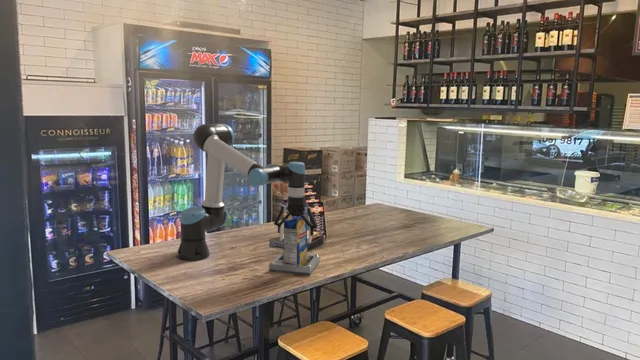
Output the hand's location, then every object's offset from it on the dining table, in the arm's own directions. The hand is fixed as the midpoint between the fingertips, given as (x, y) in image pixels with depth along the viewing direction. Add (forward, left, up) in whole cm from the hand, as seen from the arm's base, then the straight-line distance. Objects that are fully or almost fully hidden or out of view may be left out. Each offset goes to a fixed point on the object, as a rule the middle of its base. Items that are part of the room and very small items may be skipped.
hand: (295, 241), depth 226 cm
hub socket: (0, 0, -12) cm, 12 cm away
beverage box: (0, 0, -11) cm, 11 cm away
